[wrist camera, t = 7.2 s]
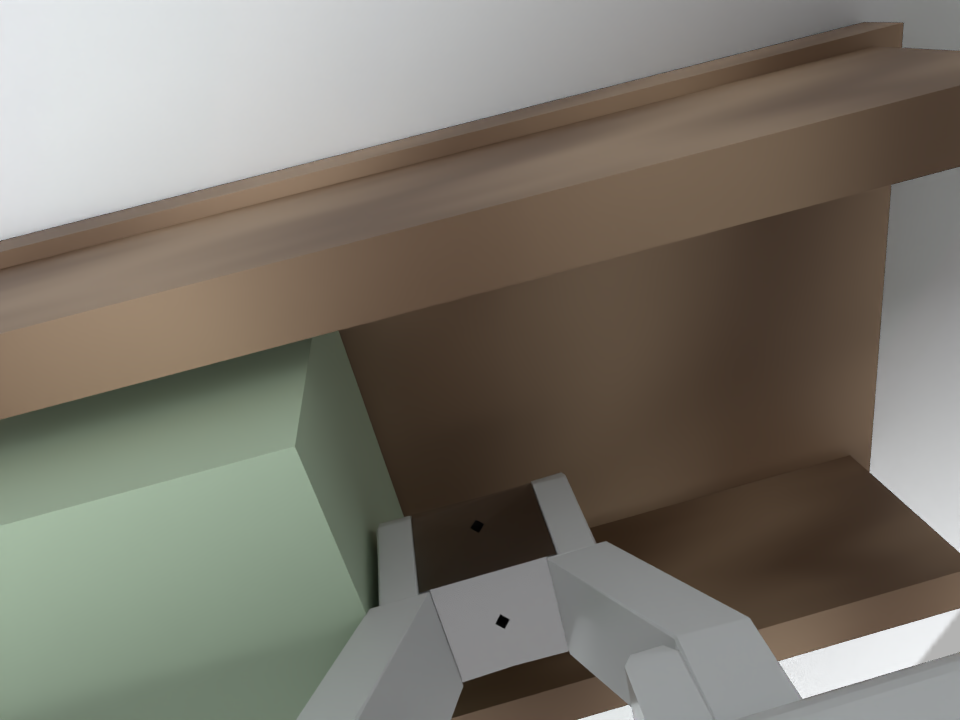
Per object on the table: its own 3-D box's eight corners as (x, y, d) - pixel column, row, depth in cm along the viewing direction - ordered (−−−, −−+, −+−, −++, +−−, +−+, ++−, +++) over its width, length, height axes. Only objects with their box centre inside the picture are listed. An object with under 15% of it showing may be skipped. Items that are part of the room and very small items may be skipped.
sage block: (320, 280, 11) (295, 446, 7) (420, 562, 14) (446, 801, 10) (25, 357, 11) (-196, 578, 7) (190, 626, 14) (113, 899, 10)
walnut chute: (863, 22, 12) (1114, 23, 8) (841, 467, 17) (991, 607, 13) (-594, 392, 11) (-1140, 603, 7) (-181, 753, 16) (-366, 1003, 12)
